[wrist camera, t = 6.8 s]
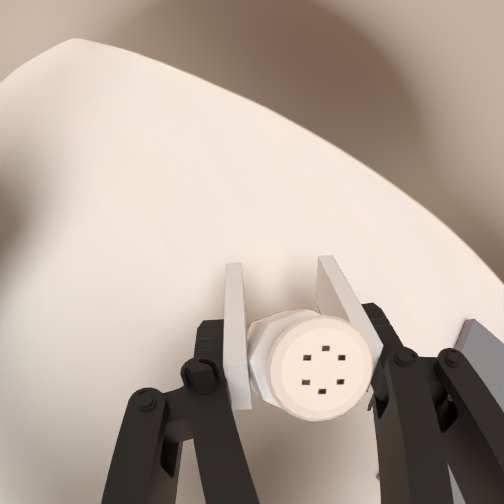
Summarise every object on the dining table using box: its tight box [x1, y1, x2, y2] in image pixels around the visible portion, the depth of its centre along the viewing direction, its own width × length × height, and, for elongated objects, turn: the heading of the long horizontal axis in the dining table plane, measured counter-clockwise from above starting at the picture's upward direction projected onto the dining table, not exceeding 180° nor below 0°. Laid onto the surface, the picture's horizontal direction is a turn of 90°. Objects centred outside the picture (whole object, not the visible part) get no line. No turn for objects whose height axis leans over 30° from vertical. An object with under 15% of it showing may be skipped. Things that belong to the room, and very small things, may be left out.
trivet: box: [377, 319, 504, 504], centre depth 15 cm, size 14×14×1 cm
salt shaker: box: [247, 309, 373, 421], centre depth 12 cm, size 5×5×11 cm
